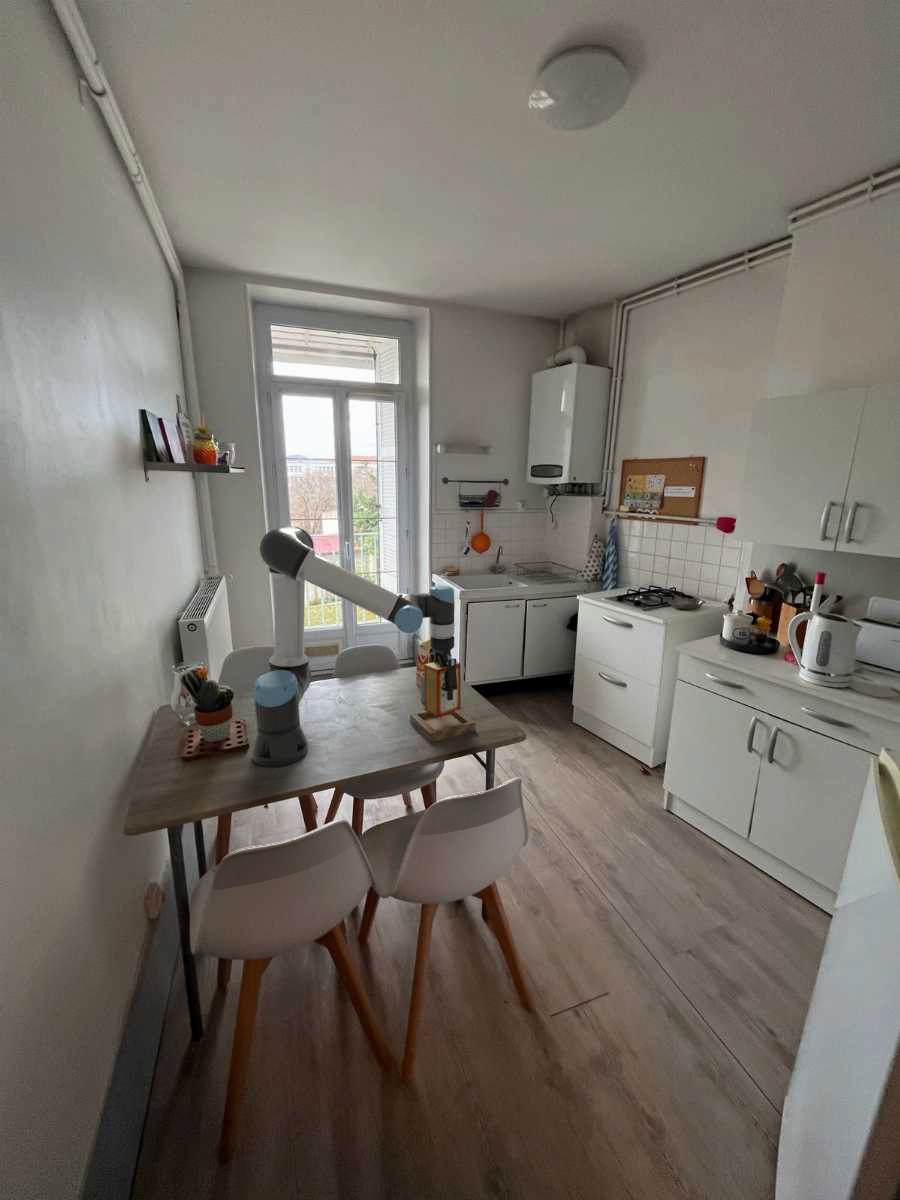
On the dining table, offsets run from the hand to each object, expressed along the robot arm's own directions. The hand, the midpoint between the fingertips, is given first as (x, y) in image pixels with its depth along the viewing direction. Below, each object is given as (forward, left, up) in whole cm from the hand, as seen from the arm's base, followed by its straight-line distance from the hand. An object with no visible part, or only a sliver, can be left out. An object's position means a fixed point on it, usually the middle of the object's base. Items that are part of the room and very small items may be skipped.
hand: (442, 703), depth 155 cm
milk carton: (+12, +33, -8) cm, 36 cm away
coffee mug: (+9, +20, -8) cm, 23 cm away
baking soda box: (0, 0, -2) cm, 2 cm away
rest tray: (0, 0, -8) cm, 8 cm away
